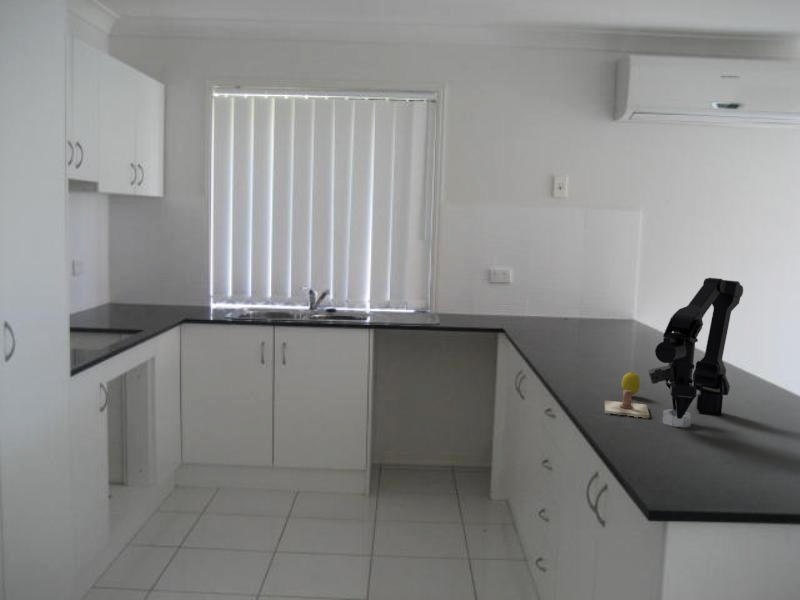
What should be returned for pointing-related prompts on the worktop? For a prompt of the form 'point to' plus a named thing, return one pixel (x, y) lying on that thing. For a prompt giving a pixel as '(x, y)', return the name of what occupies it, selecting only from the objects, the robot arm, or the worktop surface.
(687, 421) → the ring
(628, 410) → the post stand
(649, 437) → the worktop surface
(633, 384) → the lemon
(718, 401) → the robot arm
